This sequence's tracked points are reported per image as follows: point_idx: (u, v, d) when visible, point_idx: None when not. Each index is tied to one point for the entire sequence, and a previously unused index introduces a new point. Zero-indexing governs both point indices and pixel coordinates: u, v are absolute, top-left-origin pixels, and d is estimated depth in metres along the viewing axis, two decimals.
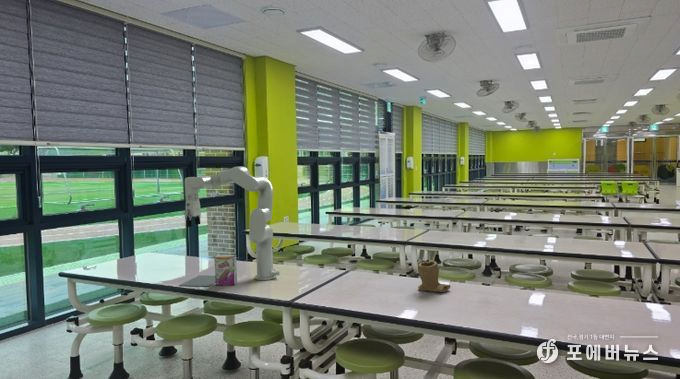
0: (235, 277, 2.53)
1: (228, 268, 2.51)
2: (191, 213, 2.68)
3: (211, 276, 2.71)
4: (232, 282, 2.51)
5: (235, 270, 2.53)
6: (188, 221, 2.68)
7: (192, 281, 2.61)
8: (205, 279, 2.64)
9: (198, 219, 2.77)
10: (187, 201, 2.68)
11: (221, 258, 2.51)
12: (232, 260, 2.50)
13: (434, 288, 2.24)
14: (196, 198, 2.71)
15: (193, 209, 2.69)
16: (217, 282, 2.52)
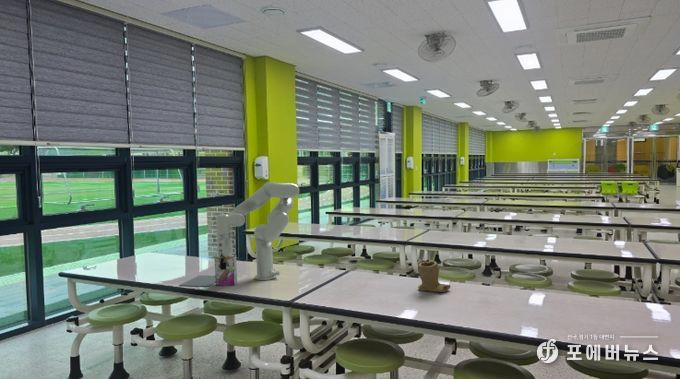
0: (235, 277, 2.53)
1: (228, 268, 2.51)
2: (224, 254, 2.47)
3: (211, 276, 2.71)
4: (232, 282, 2.51)
5: (235, 270, 2.53)
6: (222, 264, 2.49)
7: (192, 281, 2.61)
8: (205, 279, 2.64)
9: None
10: (219, 241, 2.48)
11: None
12: (232, 260, 2.50)
13: (434, 288, 2.24)
14: (229, 237, 2.50)
15: (226, 249, 2.49)
16: (217, 282, 2.52)
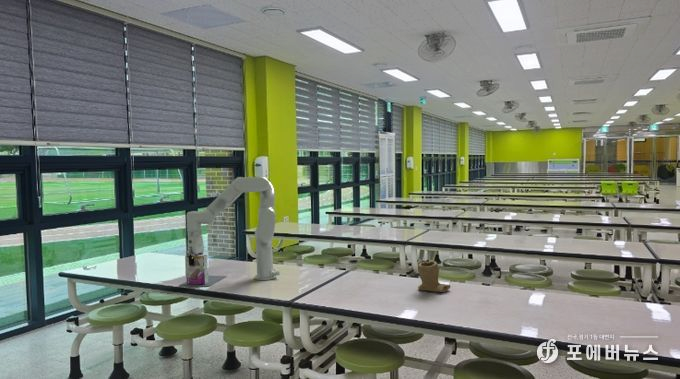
0: (206, 277, 2.55)
1: (199, 268, 2.52)
2: (193, 251, 2.49)
3: (211, 276, 2.71)
4: (202, 281, 2.52)
5: (206, 269, 2.54)
6: (190, 259, 2.49)
7: None
8: None
9: None
10: (189, 238, 2.50)
11: None
12: (202, 259, 2.52)
13: (434, 288, 2.24)
14: (199, 234, 2.52)
15: (196, 246, 2.50)
16: (188, 281, 2.54)
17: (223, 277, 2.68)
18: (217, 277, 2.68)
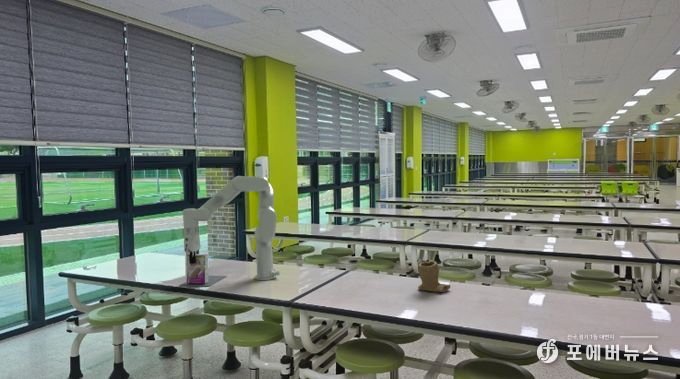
0: (206, 276, 2.55)
1: (200, 267, 2.53)
2: (190, 248, 2.45)
3: (211, 276, 2.71)
4: (203, 280, 2.53)
5: (206, 269, 2.55)
6: (191, 258, 2.50)
7: None
8: None
9: None
10: (186, 235, 2.46)
11: None
12: (203, 258, 2.53)
13: (434, 288, 2.24)
14: (195, 232, 2.48)
15: (192, 244, 2.47)
16: (188, 280, 2.54)
17: (223, 277, 2.68)
18: (217, 277, 2.68)
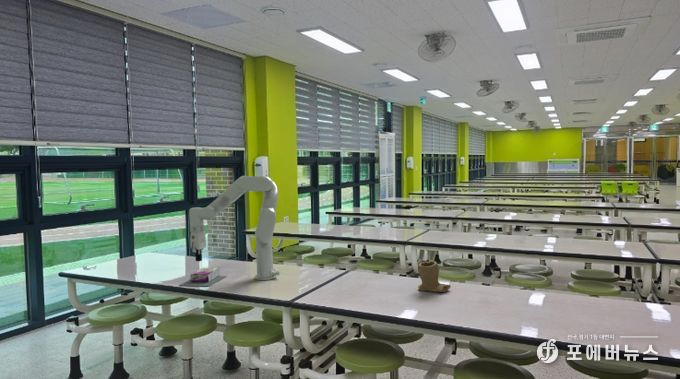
0: (211, 276, 2.61)
1: (210, 270, 2.67)
2: (196, 246, 2.52)
3: None
4: (207, 273, 2.59)
5: (214, 275, 2.65)
6: (197, 255, 2.56)
7: None
8: None
9: None
10: (192, 233, 2.52)
11: None
12: (217, 268, 2.71)
13: (434, 288, 2.24)
14: (201, 230, 2.55)
15: (199, 242, 2.53)
16: (193, 273, 2.60)
17: (223, 277, 2.68)
18: (217, 277, 2.68)
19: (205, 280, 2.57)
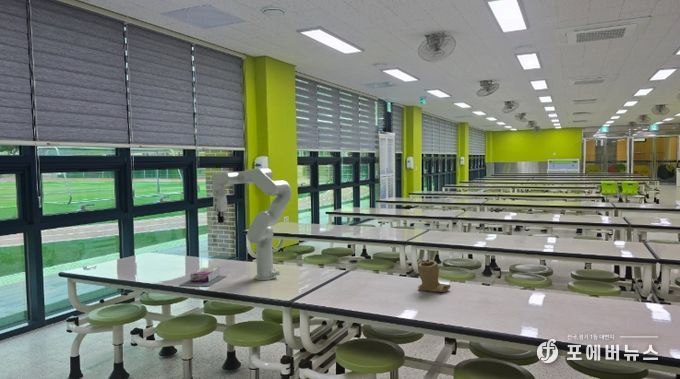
0: (211, 276, 2.61)
1: (210, 270, 2.67)
2: (219, 208, 2.70)
3: None
4: (207, 273, 2.59)
5: (214, 275, 2.65)
6: (219, 217, 2.74)
7: None
8: None
9: None
10: (215, 196, 2.71)
11: None
12: (217, 268, 2.71)
13: (434, 288, 2.24)
14: (223, 193, 2.73)
15: (221, 204, 2.71)
16: (193, 273, 2.60)
17: (223, 277, 2.68)
18: (217, 277, 2.68)
19: (205, 280, 2.57)
